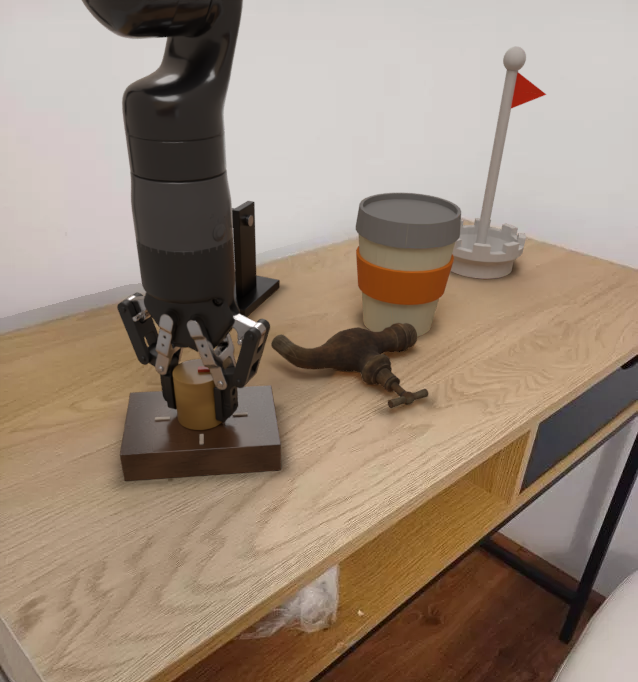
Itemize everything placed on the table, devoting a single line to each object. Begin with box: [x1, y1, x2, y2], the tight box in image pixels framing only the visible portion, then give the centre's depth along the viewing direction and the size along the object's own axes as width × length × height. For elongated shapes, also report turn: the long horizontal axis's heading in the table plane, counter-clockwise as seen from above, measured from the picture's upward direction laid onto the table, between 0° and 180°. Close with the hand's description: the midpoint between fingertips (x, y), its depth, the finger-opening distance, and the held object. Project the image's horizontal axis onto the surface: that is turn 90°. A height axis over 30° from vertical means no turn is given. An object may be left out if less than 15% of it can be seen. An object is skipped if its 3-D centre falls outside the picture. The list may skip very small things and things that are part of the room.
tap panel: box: [119, 385, 282, 482], centre depth 61 cm, size 14×10×3 cm
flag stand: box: [450, 46, 547, 280], centre depth 93 cm, size 13×13×30 cm
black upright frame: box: [232, 200, 280, 318], centre depth 86 cm, size 11×9×13 cm
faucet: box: [270, 323, 429, 409], centre depth 72 cm, size 5×17×15 cm
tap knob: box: [173, 358, 222, 430], centre depth 59 cm, size 4×4×5 cm
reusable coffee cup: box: [355, 192, 462, 338], centre depth 80 cm, size 13×13×15 cm
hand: (200, 409), depth 60 cm, fingers closed on tap knob, 4 cm apart
